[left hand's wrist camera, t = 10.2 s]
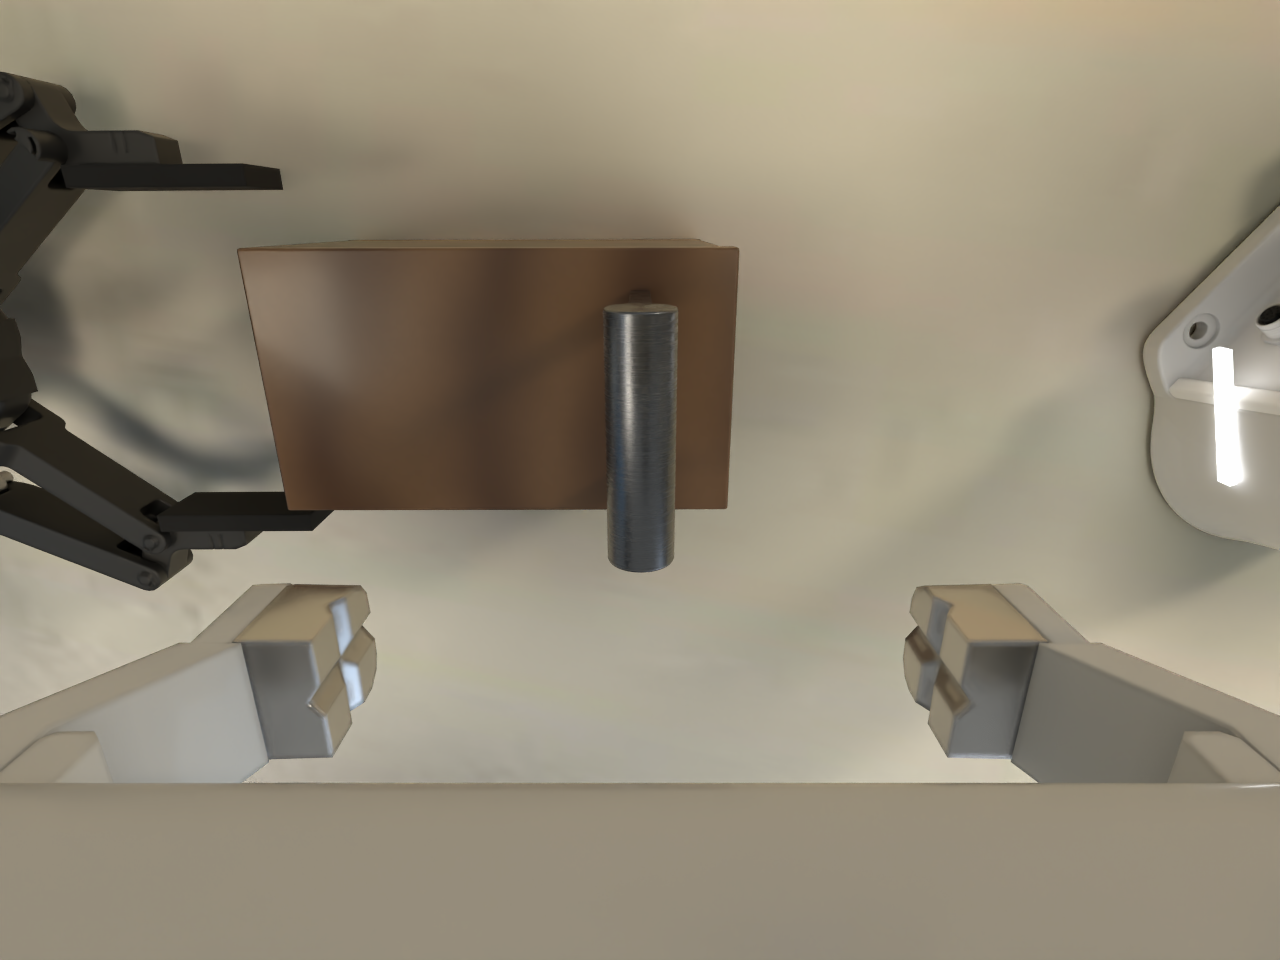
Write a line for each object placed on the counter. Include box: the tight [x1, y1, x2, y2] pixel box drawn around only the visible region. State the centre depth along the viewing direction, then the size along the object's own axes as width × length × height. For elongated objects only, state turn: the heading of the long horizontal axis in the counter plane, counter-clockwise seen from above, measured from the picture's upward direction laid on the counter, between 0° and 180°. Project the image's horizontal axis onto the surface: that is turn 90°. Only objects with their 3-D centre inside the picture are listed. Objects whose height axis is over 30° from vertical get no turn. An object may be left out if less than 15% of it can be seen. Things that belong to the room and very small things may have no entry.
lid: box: [237, 246, 739, 572], centre depth 22 cm, size 17×10×8 cm, turn 90°
